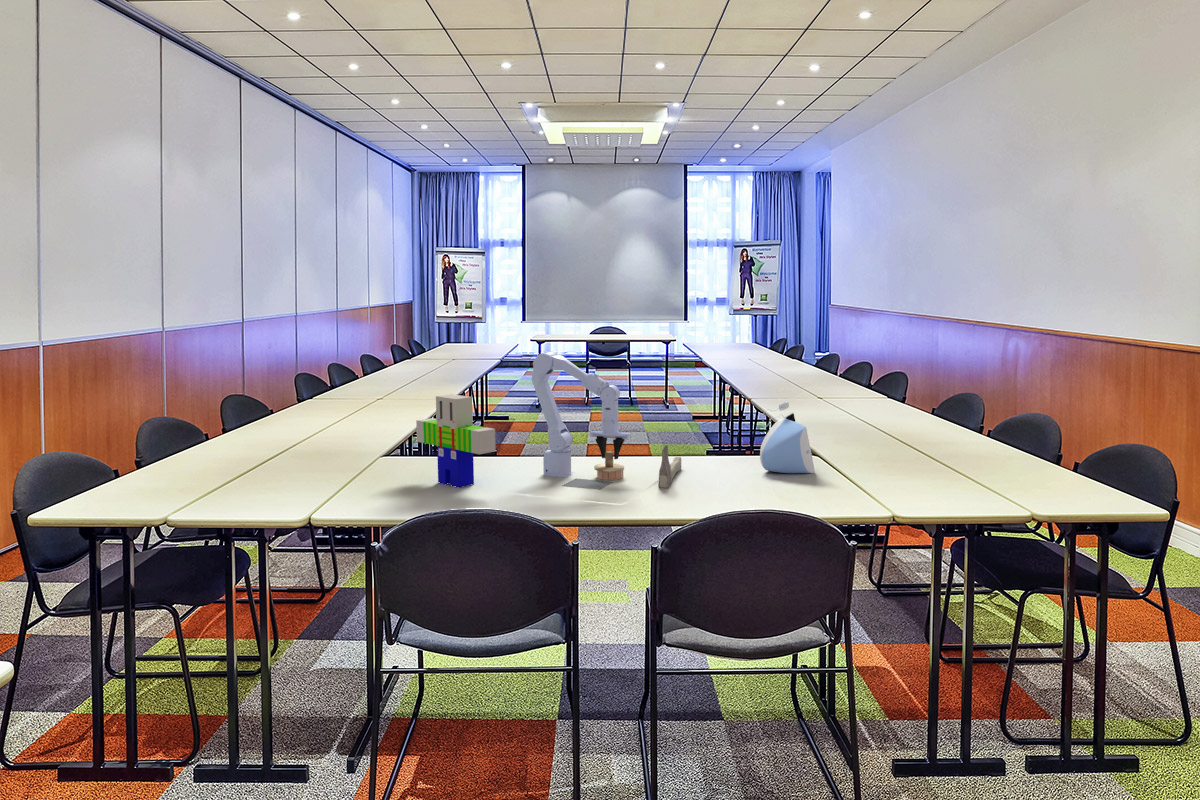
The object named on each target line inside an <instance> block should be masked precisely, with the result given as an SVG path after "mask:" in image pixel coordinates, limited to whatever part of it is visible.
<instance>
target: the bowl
mask: <svg viewBox="0 0 1200 800" xmlns="http://www.w3.org/2000/svg"><path fill="white" fill-rule="evenodd" d="M596 477H597V478H598V479H599V480H604V481H609V480H610V481H612V480H620V479H623V478H624V470H622V471H617V472H602V471H597V470H596Z"/></svg>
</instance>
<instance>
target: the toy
mask: <svg viewBox="0 0 1200 800" xmlns="http://www.w3.org/2000/svg"><path fill="white" fill-rule="evenodd" d="M435 414H436V416H435V417H436V418H434V417H432V418H423V419H417V420H416V422H415V423H416V442H418V443H421V444H428V445H432V446H436V447H437V449H436V453H437V455H436V457H437V483H438V482H440V483H439V484H441V483H444V484H443V485H445V484H446V485H448V484H447V483H450V484H449V485H452V486H451V487H453V486H456V487H455V488H457V487H459V488H463V487H462V486H464V487H468V486H467V485H469V486H472V485H471V484H473V485H475V474H474V473H475V470H474V468H475V467H474V466H475V465H474V464H475V463H474V454H476V455H482V454H489V453H495V452H496V428H492V427H486V426H480V425H475V424H473V422H474V421H473V397H472V396H468V395H467V396H466V395H460V394H453V393H451V394H443V395H436V396H435Z"/></svg>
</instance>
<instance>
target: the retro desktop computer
mask: <svg viewBox="0 0 1200 800" xmlns="http://www.w3.org/2000/svg"><path fill="white" fill-rule="evenodd" d="M789 407H790V403H789V401H787V400H786V401H784V402H782V403H780V404H779V405H778V408H777V409H774V412H776V411H777V410H779V411H785V410H786V409H788V408H789ZM767 411H771V412H773V410H772V409H765V411H763V414H762V416H765V413H766V412H767ZM781 416H782V418H780V419H778V420H777V421H776V422H775V423H773V425H772V426H771V428H770V429H769V430H768V431H767V433H766V435H765V436H764V438H763V440H762V443H761V445H760V451H759V452H760V453H759V460H760V464H761V466H762V468H763V469H764V470H765V471H769V472H772V473H773V472H774V473H781V474H809V473H810V474H814V473H813V472H815V473H816V469H815V464H814V460H813V454H812V450H811V445H810V439H809V435H808V430H807V429H808V428H807V426H805V425H803V424H800V423H798V422H796V418H795V413H794V412H790V413H789V414H787V415H786V416H784V415H783V414H779V415H778V416H777V418H779V417H781ZM772 418H773V419H774V418H775V416H772V417H771V418H770V419H769V421H768V423H767V425H766V424H765V423H764V422H765V421H762V424H763V425H764V426H765V427H768V426H769V425H770V422H771V420H772Z"/></svg>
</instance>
